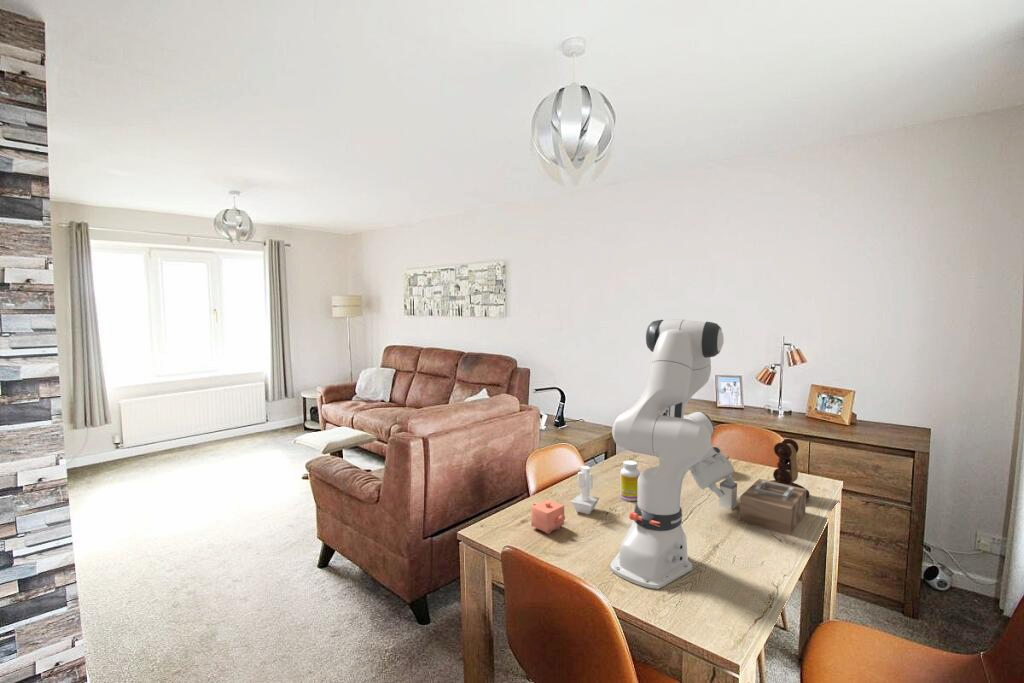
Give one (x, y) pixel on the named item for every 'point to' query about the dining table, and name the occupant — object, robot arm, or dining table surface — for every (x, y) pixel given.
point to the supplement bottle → (629, 481)
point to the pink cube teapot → (547, 516)
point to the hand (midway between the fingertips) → (728, 492)
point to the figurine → (585, 492)
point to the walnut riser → (773, 506)
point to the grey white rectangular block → (728, 494)
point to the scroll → (787, 471)
